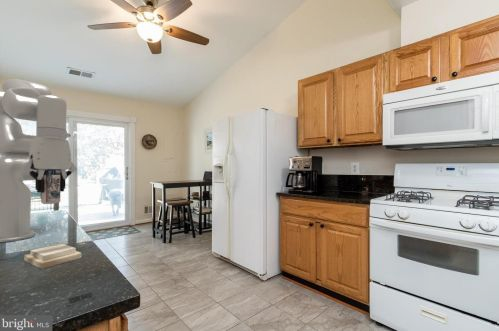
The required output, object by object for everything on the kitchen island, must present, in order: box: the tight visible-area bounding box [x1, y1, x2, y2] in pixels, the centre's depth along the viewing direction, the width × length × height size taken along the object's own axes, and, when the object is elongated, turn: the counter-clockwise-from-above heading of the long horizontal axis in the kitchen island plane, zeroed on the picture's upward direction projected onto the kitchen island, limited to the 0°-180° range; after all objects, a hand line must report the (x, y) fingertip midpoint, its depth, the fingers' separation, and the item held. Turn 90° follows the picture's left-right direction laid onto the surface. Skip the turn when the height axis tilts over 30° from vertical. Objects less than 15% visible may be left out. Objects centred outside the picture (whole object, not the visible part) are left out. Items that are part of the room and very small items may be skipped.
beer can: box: [40, 167, 61, 205], centre depth 79 cm, size 5×5×12 cm
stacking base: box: [23, 243, 83, 270], centre depth 75 cm, size 12×10×3 cm
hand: (50, 191), depth 79 cm, fingers closed on beer can, 4 cm apart
